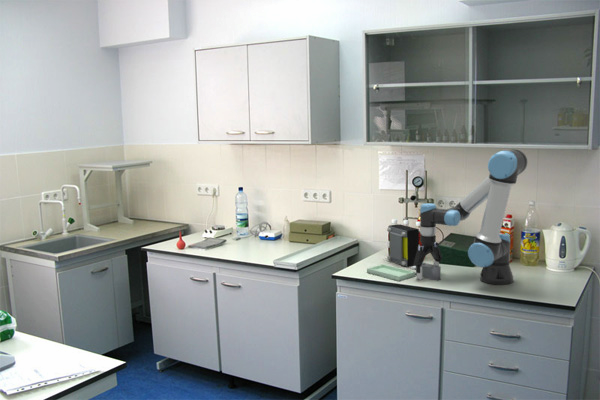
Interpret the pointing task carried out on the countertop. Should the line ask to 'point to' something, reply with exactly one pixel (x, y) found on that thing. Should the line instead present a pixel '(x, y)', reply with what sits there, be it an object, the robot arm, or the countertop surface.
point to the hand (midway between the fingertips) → (427, 276)
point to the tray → (391, 272)
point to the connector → (429, 271)
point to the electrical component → (403, 244)
